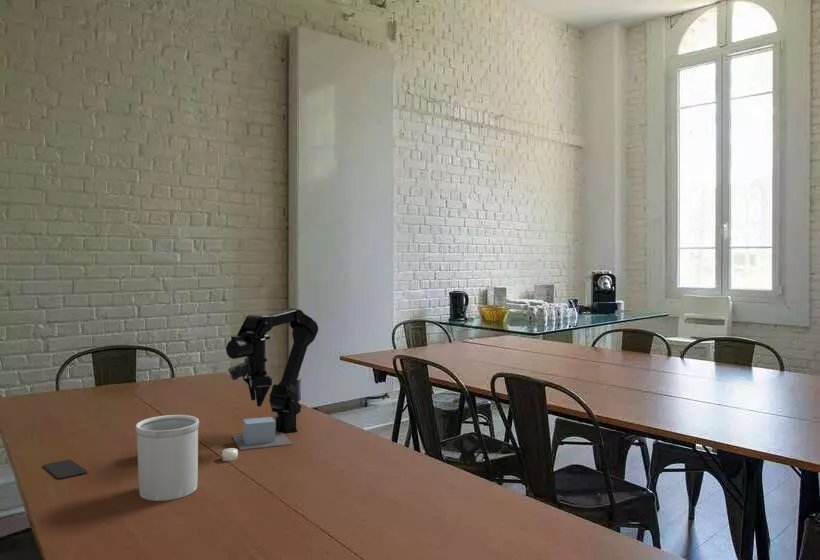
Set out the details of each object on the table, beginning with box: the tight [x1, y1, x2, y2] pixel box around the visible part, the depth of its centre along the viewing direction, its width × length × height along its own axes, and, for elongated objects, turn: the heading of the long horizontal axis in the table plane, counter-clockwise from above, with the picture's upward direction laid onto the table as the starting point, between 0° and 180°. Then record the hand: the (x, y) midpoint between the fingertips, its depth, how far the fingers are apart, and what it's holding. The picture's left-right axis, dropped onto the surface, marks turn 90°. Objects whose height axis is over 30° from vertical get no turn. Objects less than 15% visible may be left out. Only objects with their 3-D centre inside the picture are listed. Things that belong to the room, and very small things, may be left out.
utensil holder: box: [135, 414, 200, 502], centre depth 159 cm, size 15×15×18 cm
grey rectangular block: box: [242, 416, 276, 445], centre depth 202 cm, size 9×6×6 cm
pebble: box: [221, 447, 239, 462], centre depth 185 cm, size 4×4×2 cm
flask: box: [295, 374, 302, 403], centre depth 263 cm, size 9×3×11 cm, turn 8°
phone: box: [42, 459, 88, 481], centre depth 174 cm, size 7×1×15 cm
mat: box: [231, 430, 293, 451], centre depth 204 cm, size 16×16×1 cm
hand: (255, 403), depth 203 cm, fingers open, 9 cm apart
